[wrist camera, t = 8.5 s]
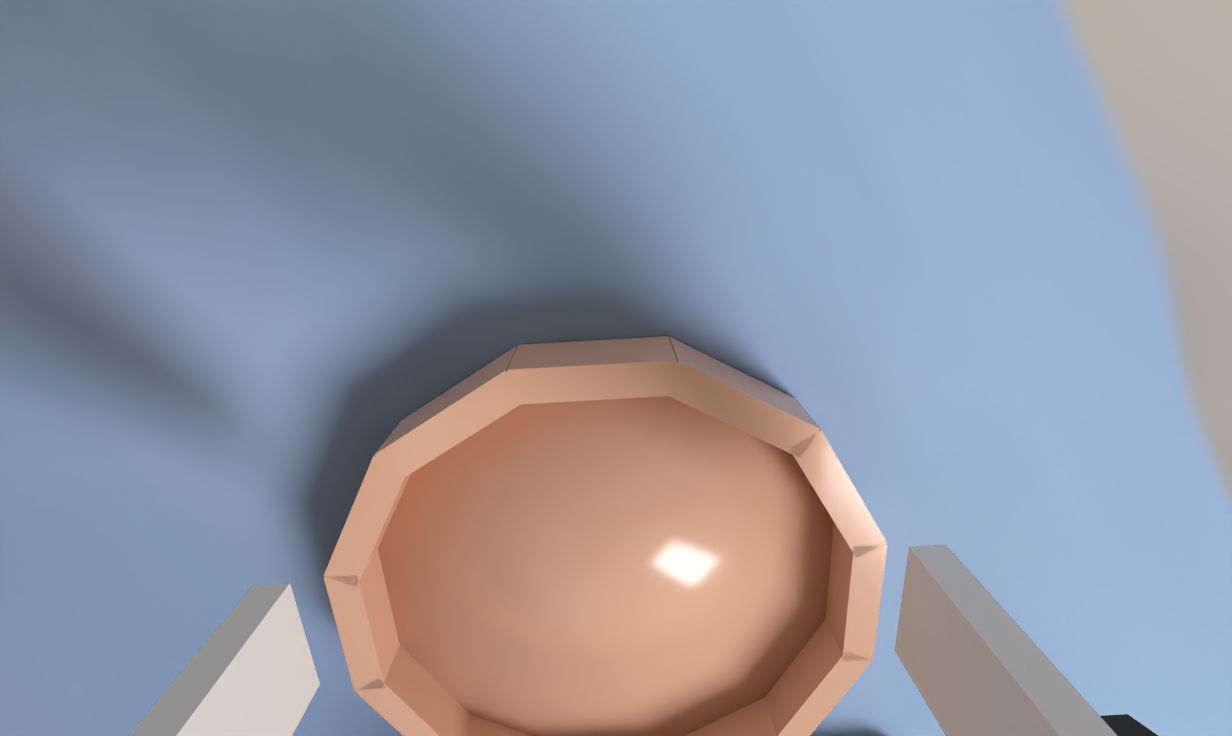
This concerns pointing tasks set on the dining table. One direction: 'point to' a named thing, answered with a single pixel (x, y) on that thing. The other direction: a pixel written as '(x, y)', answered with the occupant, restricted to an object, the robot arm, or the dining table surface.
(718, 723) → the bowl
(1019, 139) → the dining table surface
